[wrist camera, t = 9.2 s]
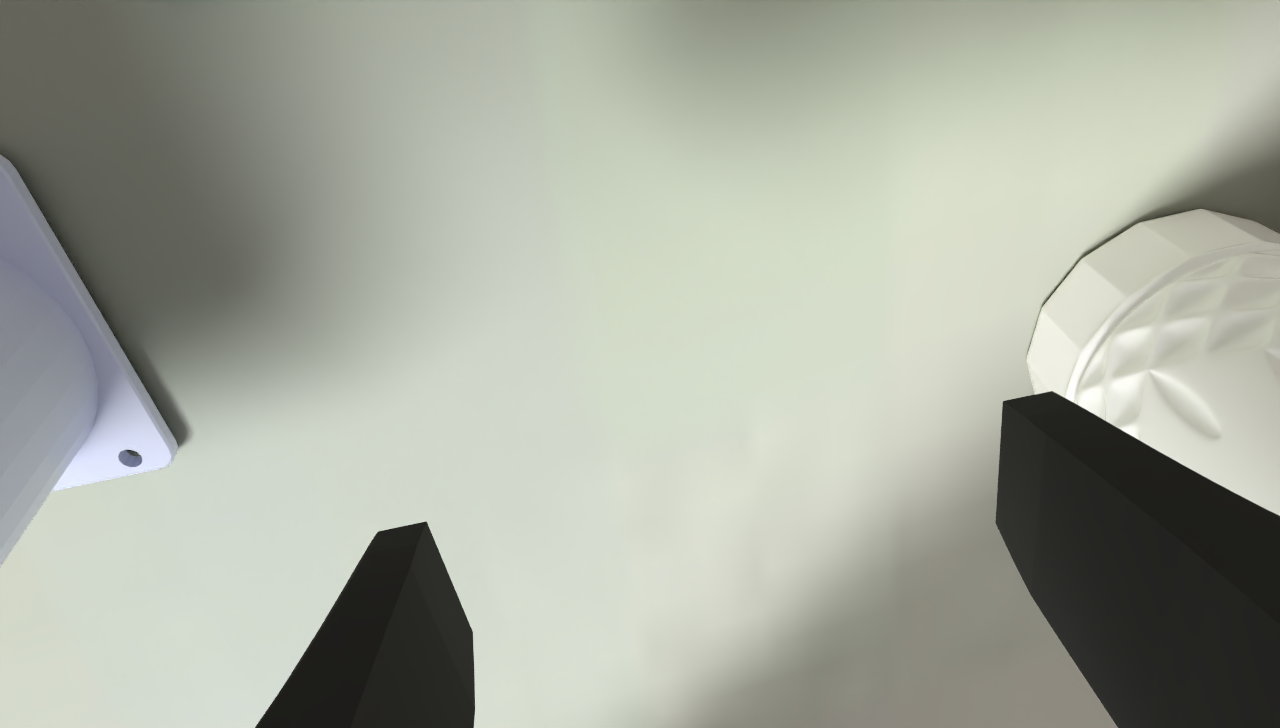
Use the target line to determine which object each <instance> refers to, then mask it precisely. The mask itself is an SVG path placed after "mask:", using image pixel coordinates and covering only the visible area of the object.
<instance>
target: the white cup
mask: <svg viewBox="0 0 1280 728" xmlns="http://www.w3.org/2000/svg"><path fill="white" fill-rule="evenodd" d="M1026 361H1027V365H1028V369H1029V374H1030V378H1031V382H1032V386H1033V390H1034V394H1040V393H1045V392H1050V391H1053V392H1055V393H1057V394H1059V395H1061V396H1062V397H1064V398H1066V399H1068V400H1070V401H1072V402H1073V403H1075V404H1077V405H1079V406H1081V407H1082V408H1084V409H1086V410H1088V411H1089V412H1091V413H1093V414H1095V415H1096V416H1098V417H1100V418H1102V419H1103V420H1105V421H1107V422H1109V423H1110V424H1112V425H1114V426H1115V427H1117V428H1119V429H1121V430H1122V431H1124V432H1126V433H1128V434H1129V435H1131V436H1133V437H1135V438H1136V439H1138V440H1140V441H1142V442H1143V443H1145V444H1147V445H1149V446H1150V447H1152V448H1154V449H1156V450H1157V451H1159V452H1161V453H1163V454H1164V455H1166V456H1168V457H1170V458H1172V459H1173V460H1175V461H1177V462H1179V463H1180V464H1182V465H1184V466H1186V467H1188V468H1190V469H1191V470H1193V471H1195V472H1197V473H1199V474H1200V475H1202V476H1204V477H1206V478H1208V479H1210V480H1211V481H1213V482H1215V483H1217V484H1219V485H1221V486H1223V487H1225V488H1226V489H1228V490H1230V491H1232V492H1234V493H1236V494H1238V495H1240V496H1242V497H1244V498H1246V499H1247V500H1249V501H1251V502H1253V503H1255V504H1257V505H1259V506H1261V507H1263V508H1265V509H1267V510H1269V511H1271V512H1273V513H1275V514H1277V515H1279V516H1280V234H1279V233H1277V232H1275V231H1273V230H1271V229H1269V228H1267V227H1265V226H1263V225H1261V224H1259V223H1257V222H1255V221H1252V220H1248V219H1244V218H1240V217H1235V216H1231V215H1227V214H1223V213H1218V212H1214V211H1210V210H1205V209H1196V210H1191V211H1187V212H1183V213H1178V214H1174V215H1170V216H1165V217H1161V218H1157V219H1152V220H1148V221H1144V222H1140V223H1137V224H1135V225H1134V226H1132V227H1131V228H1129V229H1127V230H1126V231H1124V232H1123V233H1121V234H1120V235H1118V236H1116V237H1115V238H1113V239H1112V240H1110V241H1109V242H1107V243H1105V244H1104V245H1102V246H1101V247H1099V248H1098V249H1096V250H1094V251H1093V252H1091V253H1090V254H1088V255H1087V256H1085V257H1084V258H1082V259H1081V260H1080V261H1079V262H1078V264H1077V265H1076V266H1075V267H1074V268H1073V270H1072V271H1071V272H1070V273H1069V275H1068V276H1067V277H1066V278H1065V280H1064V281H1063V282H1062V283H1061V285H1060V286H1059V287H1058V288H1057V289H1056V291H1055V292H1054V293H1053V294H1052V296H1051V297H1050V298H1049V299H1048V301H1047V302H1046V303H1045V304H1044V306H1043V307H1042V309H1041V311H1040V315H1039V318H1038V321H1037V325H1036V328H1035V331H1034V335H1033V338H1032V341H1031V345H1030V348H1029V351H1028V354H1027V358H1026Z"/></svg>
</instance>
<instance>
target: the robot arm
mask: <svg viewBox="0 0 1280 728" xmlns="http://www.w3.org/2000/svg"><path fill="white" fill-rule="evenodd" d="M126 450H133V451H136V452H138V453H139V454H140V455H141V457H135V456H132V455H130V454H129V453H128V452H127V451H126ZM177 450H178V445H177V442H176V440H175V438H174V437H173V435H172V433H171V431H170V430H169V428H168V426H167V425H166V423H165V421H164V420H163V418H162V416H161V414H160V413H159V411H158V409H157V408H156V406H155V404H154V403H153V401H152V399H151V397H150V396H149V394H148V392H147V391H146V389H145V387H144V386H143V384H142V382H141V381H140V379H139V377H138V375H137V374H136V372H135V370H134V369H133V367H132V365H131V364H130V362H129V360H128V358H127V357H126V355H125V353H124V352H123V350H122V348H121V347H120V345H119V343H118V341H117V340H116V338H115V336H114V335H113V333H112V331H111V330H110V328H109V326H108V324H107V323H106V321H105V319H104V318H103V316H102V314H101V313H100V311H99V309H98V307H97V306H96V304H95V302H94V301H93V299H92V297H91V296H90V294H89V292H88V290H87V289H86V287H85V285H84V284H83V282H82V280H81V279H80V277H79V275H78V273H77V272H76V270H75V268H74V267H73V265H72V263H71V262H70V260H69V258H68V256H67V255H66V253H65V251H64V250H63V248H62V246H61V245H60V243H59V241H58V240H57V238H56V236H55V234H54V233H53V231H52V229H51V228H50V226H49V224H48V223H47V221H46V219H45V217H44V216H43V214H42V212H41V211H40V209H39V207H38V206H37V204H36V202H35V200H34V199H33V197H32V195H31V194H30V192H29V190H28V189H27V187H26V185H25V183H24V182H23V180H22V178H21V177H20V175H19V173H18V172H17V170H16V168H15V167H14V166H13V165H12V164H11V162H10V161H9V160H8V159H6V158H5V157H3V156H2V155H0V567H1V566H2V564H3V563H4V561H5V560H6V558H7V557H8V555H9V554H10V552H11V551H12V549H13V548H14V546H15V545H16V543H17V542H18V540H19V539H20V537H21V536H22V534H23V533H24V531H25V530H26V528H27V527H28V525H29V524H30V522H31V521H32V519H33V518H34V516H35V515H36V513H37V512H38V510H39V509H40V507H41V506H42V505H43V503H44V502H45V500H46V499H47V497H48V496H49V494H50V493H51V492H52V491H57V490H62V489H67V488H71V487H76V486H81V485H86V484H91V483H95V482H100V481H105V480H110V479H114V478H119V477H124V476H129V475H134V474H138V473H143V472H148V471H153V470H158V469H162V468H164V467H167V466H169V465H170V464H171V463H172V461H173V460H174V458H175V456H176V454H177ZM996 525H997V527H998V529H999V531H1000V533H1001V535H1002V537H1003V540H1004V542H1005V544H1006V546H1007V548H1008V550H1009V552H1010V554H1011V556H1012V559H1013V561H1014V563H1015V565H1016V567H1017V569H1018V571H1019V573H1020V575H1021V577H1022V579H1023V580H1024V582H1025V584H1026V586H1027V588H1028V590H1029V592H1030V594H1031V596H1032V597H1033V599H1034V601H1035V602H1036V604H1037V605H1038V607H1039V608H1040V610H1041V612H1042V613H1043V615H1044V616H1045V618H1046V619H1047V621H1048V622H1049V624H1050V625H1051V627H1052V628H1053V630H1054V632H1055V633H1056V635H1057V636H1058V638H1059V639H1060V641H1061V642H1062V644H1063V645H1064V647H1065V648H1066V650H1067V651H1068V653H1069V654H1070V656H1071V657H1072V659H1073V660H1074V662H1075V663H1076V665H1077V666H1078V668H1079V669H1080V671H1081V672H1082V674H1083V675H1084V677H1085V678H1086V680H1087V681H1088V683H1089V684H1090V686H1091V687H1092V689H1093V691H1094V692H1095V694H1096V695H1097V697H1098V698H1099V700H1100V701H1101V703H1102V704H1103V706H1104V707H1105V709H1106V710H1107V712H1108V713H1109V715H1110V716H1111V718H1112V719H1113V721H1114V722H1115V724H1116V725H1117V727H1118V728H1280V516H1279V515H1277V514H1275V513H1273V512H1271V511H1269V510H1267V509H1265V508H1263V507H1261V506H1259V505H1257V504H1255V503H1253V502H1251V501H1249V500H1247V499H1246V498H1244V497H1242V496H1240V495H1238V494H1236V493H1234V492H1232V491H1230V490H1228V489H1226V488H1225V487H1223V486H1221V485H1219V484H1217V483H1215V482H1213V481H1211V480H1210V479H1208V478H1206V477H1204V476H1202V475H1200V474H1199V473H1197V472H1195V471H1193V470H1191V469H1190V468H1188V467H1186V466H1184V465H1182V464H1180V463H1179V462H1177V461H1175V460H1173V459H1172V458H1170V457H1168V456H1166V455H1164V454H1163V453H1161V452H1159V451H1157V450H1156V449H1154V448H1152V447H1150V446H1149V445H1147V444H1145V443H1143V442H1142V441H1140V440H1138V439H1136V438H1135V437H1133V436H1131V435H1129V434H1128V433H1126V432H1124V431H1122V430H1121V429H1119V428H1117V427H1115V426H1114V425H1112V424H1110V423H1109V422H1107V421H1105V420H1103V419H1102V418H1100V417H1098V416H1096V415H1095V414H1093V413H1091V412H1089V411H1088V410H1086V409H1084V408H1082V407H1081V406H1079V405H1077V404H1075V403H1073V402H1072V401H1070V400H1068V399H1066V398H1064V397H1062V396H1061V395H1059V394H1057V393H1055V392H1053V391H1050V392H1045V393H1040V394H1035V395H1031V396H1026V397H1021V398H1016V399H1011V400H1007V401H1003V410H1002V426H1001V443H1000V460H999V476H998V493H997V510H996ZM474 715H475V689H474V655H473V632H472V629H471V627H470V625H469V622H468V620H467V617H466V615H465V613H464V610H463V608H462V605H461V603H460V601H459V598H458V596H457V593H456V591H455V589H454V586H453V584H452V581H451V579H450V577H449V574H448V572H447V570H446V567H445V565H444V562H443V560H442V558H441V555H440V553H439V550H438V548H437V546H436V543H435V541H434V538H433V536H432V534H431V531H430V529H429V526H428V524H427V522H422V523H417V524H413V525H408V526H403V527H398V528H393V529H389V530H384V531H379V532H378V533H377V534H376V535H375V537H374V538H373V540H372V541H371V543H370V545H369V546H368V548H367V550H366V551H365V553H364V555H363V556H362V558H361V560H360V561H359V563H358V565H357V566H356V568H355V570H354V572H353V573H352V575H351V577H350V578H349V580H348V582H347V584H346V585H345V587H344V589H343V590H342V592H341V594H340V595H339V597H338V599H337V601H336V602H335V604H334V606H333V607H332V609H331V611H330V612H329V614H328V616H327V617H326V619H325V621H324V622H323V624H322V626H321V627H320V629H319V630H318V632H317V634H316V635H315V637H314V638H313V640H312V642H311V643H310V645H309V646H308V648H307V650H306V651H305V653H304V654H303V656H302V658H301V659H300V661H299V662H298V664H297V666H296V667H295V669H294V670H293V672H292V673H291V675H290V677H289V678H288V680H287V681H286V683H285V684H284V686H283V688H282V689H281V691H280V692H279V694H278V695H277V697H276V698H275V700H274V701H273V702H272V704H271V705H270V707H269V708H268V710H267V711H266V713H265V714H264V715H263V717H262V718H261V720H260V721H259V723H258V724H257V726H256V727H255V728H473V727H474Z"/></svg>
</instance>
